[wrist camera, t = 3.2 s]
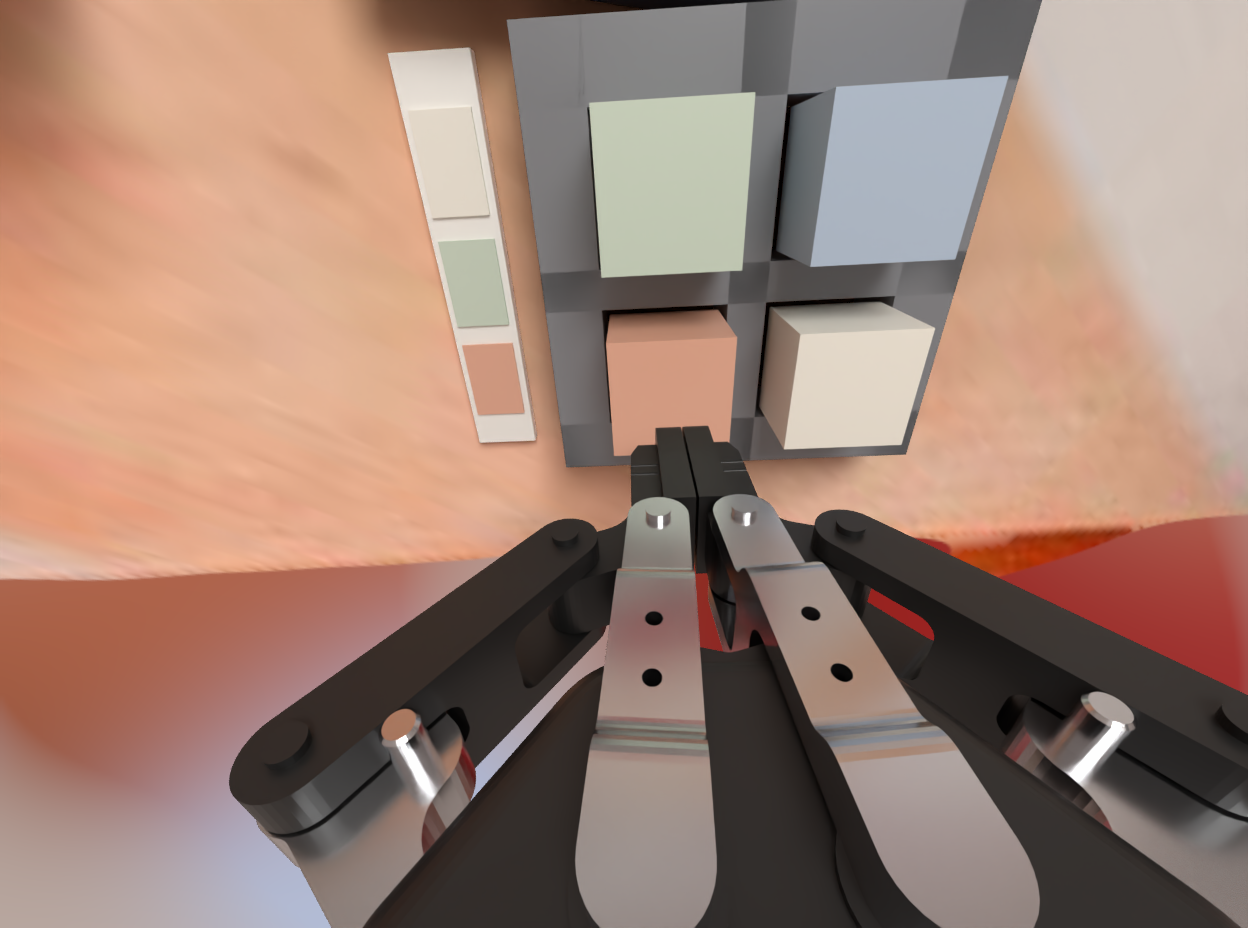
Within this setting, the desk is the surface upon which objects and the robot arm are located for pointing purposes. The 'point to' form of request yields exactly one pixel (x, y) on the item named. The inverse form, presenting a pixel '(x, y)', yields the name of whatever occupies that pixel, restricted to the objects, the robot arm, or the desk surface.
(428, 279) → the desk surface
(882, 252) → the slate key
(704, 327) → the terracotta key
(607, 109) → the sage key
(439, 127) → the strip
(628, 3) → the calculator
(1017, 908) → the robot arm
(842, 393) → the cream key
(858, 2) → the keypad base
